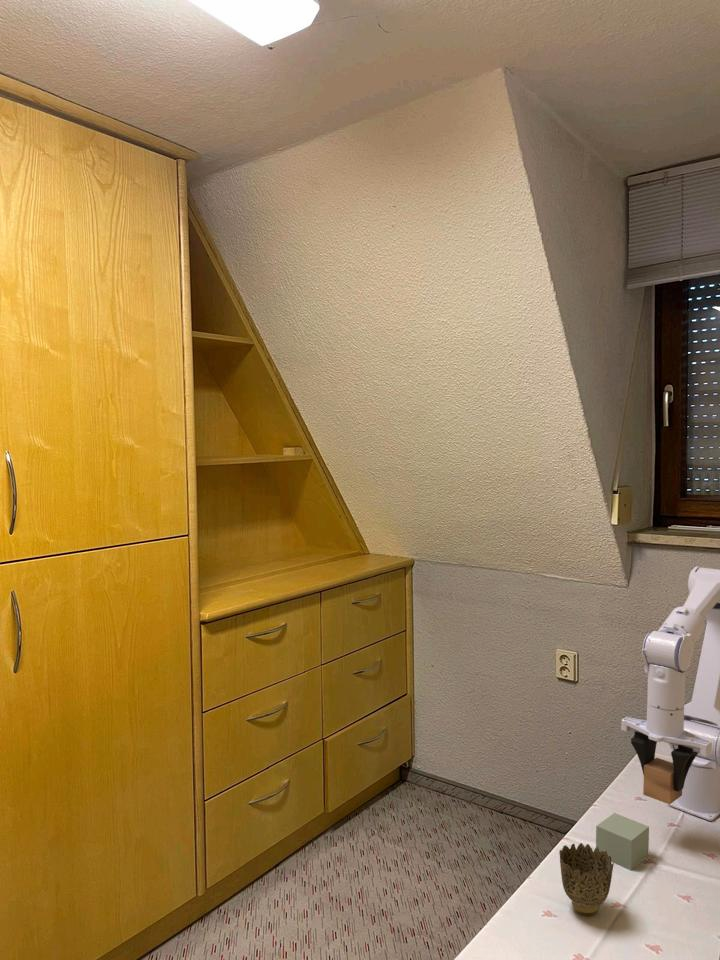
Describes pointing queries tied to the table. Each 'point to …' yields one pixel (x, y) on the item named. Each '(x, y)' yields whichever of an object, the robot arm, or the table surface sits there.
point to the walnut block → (660, 781)
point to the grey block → (623, 840)
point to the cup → (586, 877)
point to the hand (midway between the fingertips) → (663, 783)
